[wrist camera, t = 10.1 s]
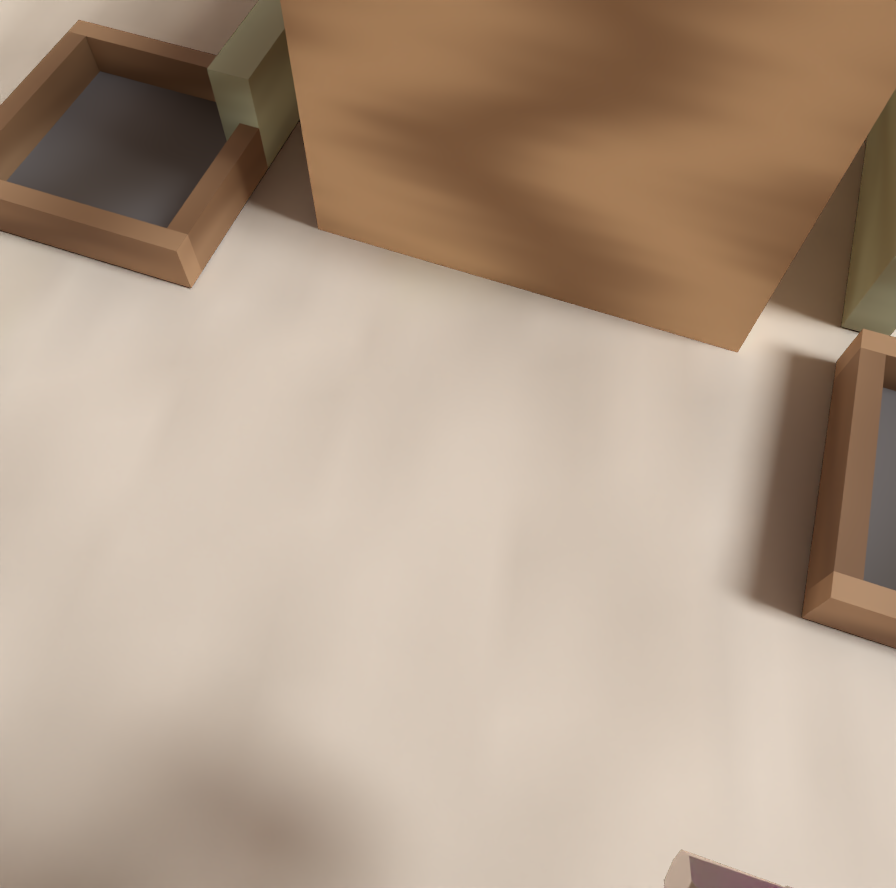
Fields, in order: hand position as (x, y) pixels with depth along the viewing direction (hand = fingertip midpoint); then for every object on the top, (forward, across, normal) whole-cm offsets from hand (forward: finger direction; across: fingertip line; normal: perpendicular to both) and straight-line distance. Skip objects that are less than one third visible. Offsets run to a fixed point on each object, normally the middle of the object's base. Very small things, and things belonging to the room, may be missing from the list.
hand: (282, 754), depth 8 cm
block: (+15, 0, +8) cm, 17 cm away
